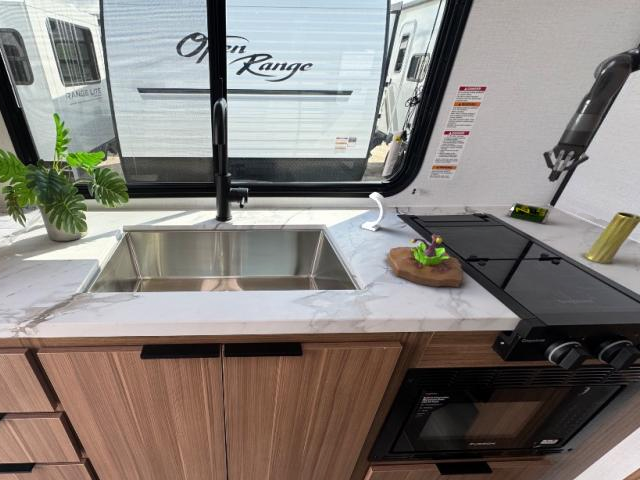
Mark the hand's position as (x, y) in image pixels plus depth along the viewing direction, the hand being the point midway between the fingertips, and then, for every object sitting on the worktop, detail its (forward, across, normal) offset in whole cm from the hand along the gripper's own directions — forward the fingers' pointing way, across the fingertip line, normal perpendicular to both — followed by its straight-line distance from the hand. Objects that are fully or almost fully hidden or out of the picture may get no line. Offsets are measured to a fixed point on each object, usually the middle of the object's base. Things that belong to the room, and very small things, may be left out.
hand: (551, 181), depth 119 cm
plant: (+15, +15, +72) cm, 75 cm away
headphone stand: (+15, +40, +54) cm, 69 cm away
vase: (+15, -21, +25) cm, 36 cm away
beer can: (+12, -4, 0) cm, 13 cm away
